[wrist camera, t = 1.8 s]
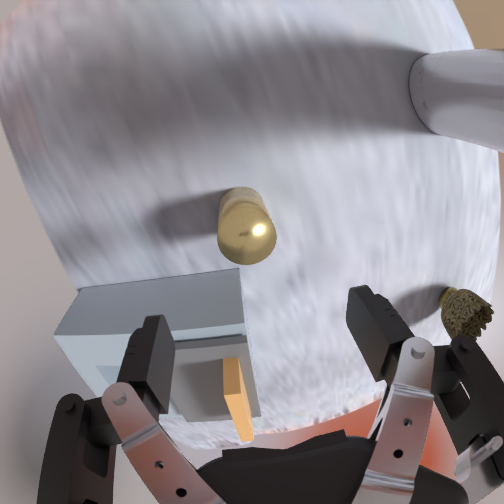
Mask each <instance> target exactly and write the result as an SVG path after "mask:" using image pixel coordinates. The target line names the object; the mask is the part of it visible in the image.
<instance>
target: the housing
mask: <svg viewBox="0 0 504 504" xmlns="http://www.w3.org/2000/svg"><path fill="white" fill-rule="evenodd" d="M161 314H163V315H164V316H165V318H166V321H167V324H168V326H169V329H170V331H171V334H172V336H173V339H174V343H176V342H189V341H200V340H210V339H219V338H228V337H236V336H244V335H247V340H248V346H249V352H250V357H251V363H252V368H253V374H254V379H255V385H256V390H257V396H258V388H257V381H256V373H255V366H254V358H253V352H252V346H251V340H250V334H249V328H248V322H247V316H246V309H245V303H244V297H243V290H242V284H241V277H240V271H239V268H237V269H230V270H222V271H215V272H207V273H200V274H192V275H185V276H177V277H169V278H161V279H153V280H145V281H137V282H129V283H120V284H112V285H103V286H95V287H86V288H82V289H81V291H80V292H79V294H78V295H77V297H76V298H75V300H74V301H73V303H72V305H71V306H70V308H69V310H68V311H67V313H66V314H65V316H64V318H63V319H62V321H61V323H60V324H59V326H58V328H57V329H56V331H55V333H54V335H53V336H54V338H55V339H56V341H57V343H58V344H59V346H60V347H61V349H62V350H63V352H64V353H65V355H66V356H67V357H68V359H69V360H70V362H71V363H72V365H73V366H74V367H75V369H76V370H77V371H78V373H79V374H80V375H81V377H82V378H83V379H84V381H85V382H86V383H87V384H88V386H89V387H90V388H91V389H92V391H93V392H94V393H95V394H96V395H97V397H102V395H103V393H104V391H105V390H106V389H107V388H108V387H109V386H110V385H112V384H114V383H116V381H117V378H118V374H119V371H120V367H121V364H122V360H123V357H124V355H125V351H126V348H127V344H128V341H129V338H130V336H131V335H132V334H133V332H134V331H135V330H136V329H137V328H142V327H143V323H144V320H145V317H146V316H150V315H161ZM258 401H259V396H258ZM259 406H260V403H259ZM260 412H261V411H260ZM159 418H184V417H183V415H182V414H181V412H180V411H179V409H178V407H177V406H176V404H175V403H174V401H173V399H172V398H171V396H170V401H169V410H168V414H159Z"/></svg>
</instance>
